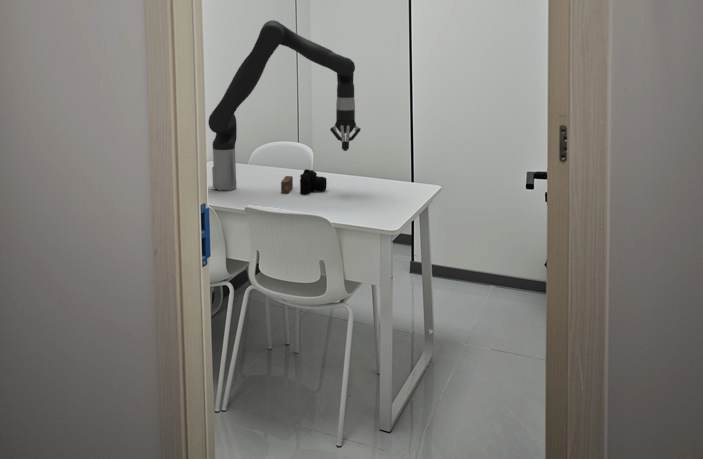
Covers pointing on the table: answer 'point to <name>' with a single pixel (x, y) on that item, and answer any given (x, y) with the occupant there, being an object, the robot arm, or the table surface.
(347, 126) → the robot arm
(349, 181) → the table surface
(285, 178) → the bar
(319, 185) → the film camera
